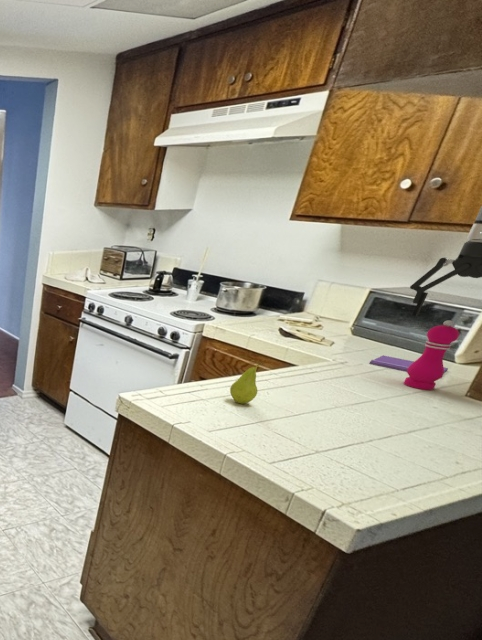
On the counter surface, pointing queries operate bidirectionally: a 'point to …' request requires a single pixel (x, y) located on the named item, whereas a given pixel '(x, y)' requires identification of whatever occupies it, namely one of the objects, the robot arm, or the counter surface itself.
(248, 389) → the fruit
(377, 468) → the counter surface
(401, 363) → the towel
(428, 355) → the pepper mill
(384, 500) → the counter surface
